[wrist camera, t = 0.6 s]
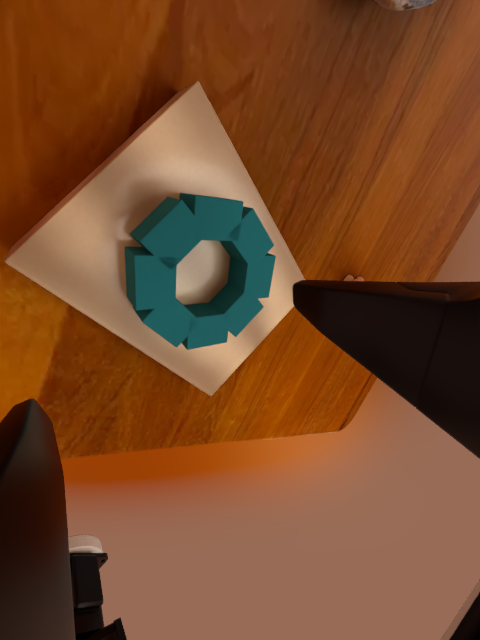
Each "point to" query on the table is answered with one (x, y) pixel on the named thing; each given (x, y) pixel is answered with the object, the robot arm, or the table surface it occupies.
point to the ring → (174, 244)
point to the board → (114, 235)
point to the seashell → (403, 4)
